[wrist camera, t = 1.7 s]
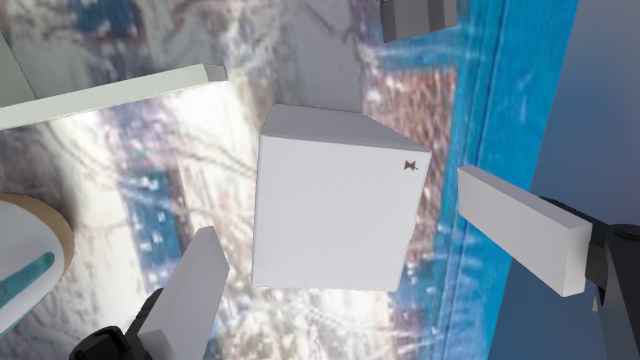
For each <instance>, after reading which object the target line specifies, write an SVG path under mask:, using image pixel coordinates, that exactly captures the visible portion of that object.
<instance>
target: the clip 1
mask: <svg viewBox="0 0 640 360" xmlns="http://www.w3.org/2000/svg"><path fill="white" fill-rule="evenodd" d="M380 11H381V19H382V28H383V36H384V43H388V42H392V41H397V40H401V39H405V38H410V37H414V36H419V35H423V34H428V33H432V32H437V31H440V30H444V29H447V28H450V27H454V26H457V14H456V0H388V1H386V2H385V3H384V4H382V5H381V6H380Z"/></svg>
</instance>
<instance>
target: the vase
mask: <svg viewBox="0 0 640 360" xmlns="http://www.w3.org/2000/svg"><path fill="white" fill-rule="evenodd" d="M74 247H75V243H74V236H73V233H72V230H71V228H70V226H69V224H68V222H67V221H66V220H65V218H64V217H63V216H62V215H61V214H60V213H59V212H58V211H57V210H55V209H54V208H53V207H51V206H50V205H48V204H46V203H44V202H42V201H40V200H38V199H35V198H32V197H30V196H26V195H21V194H15V193H6V192H5V193H0V339H1V338H2V337H3V336H4V335H6V334H7V333H8V332H9V331H10V330H11V329H12V328H13V327H14V326H15V325H17V324H18V323H19V322H20V321H21V320H22V319H23V318H24V317H25V316H26V315H27V314H28V313H29V312H30V311H31V310H32V309H33V308H34V307H35V306H36V305H37V304H38V303H39V302H40V301H41V300H42V299H43V298H44V297H45V296H46V295H47V294H48V293H49V292H50V291H51V290H52V288H53V287H54V286H55V285H56V284H57V283H58V282H59V281H60V279H61V278H62V277H63V275H64V274H65V272H66V271H67V269H68V267H69V266H70V263H71V261H72V258H73V255H74Z"/></svg>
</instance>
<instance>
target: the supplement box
mask: <svg viewBox="0 0 640 360" xmlns="http://www.w3.org/2000/svg"><path fill="white" fill-rule="evenodd" d="M431 154H432V151H431V150H430V149H428V148H426V147H425V146H423V145H421V144H419V143H417V142H415V141H413V140H411V139H409V138H407V137H405V136H403V135H402V134H400V133H398V132H396V131H394V130H392V129H390V128H388V127H387V126H385V125H383V124H381V123H379V122H377V121H375V120H373V119H372V118H370V117H368V116H366V115H364V114H362V113H355V112H346V111H338V110H330V109H322V108H313V107H305V106H297V105H286V104H274V105H273V107H272V109H271V112H270V114H269V116H268V118H267V120H266V123H265V125H264V127H263V129H262V131H261V134H260V138H259V153H258V165H257V180H256V196H255V214H254V232H253V253H252V274H251V285H252V287H272V288H314V289H340V290H361V291H396V290H397V289H398V286H399V282H400V278H401V274H402V270H403V266H404V262H405V258H406V254H407V250H408V245H409V242H410V239H411V237H412V235H413V232H414V228H415V224H416V214H417V210H418V206H419V202H420V198H421V194H422V190H423V186H424V183H425V179H426V175H427V171H428V167H429V163H430V159H431Z"/></svg>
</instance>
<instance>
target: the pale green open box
mask: <svg viewBox="0 0 640 360" xmlns="http://www.w3.org/2000/svg"><path fill="white" fill-rule="evenodd" d="M224 81H228V79H227V76H226V73H225V69H224V67H223V66H217V65H211V64H205V63H201V64H197V65H192V66H188V67H183V68H179V69H174V70H170V71H165V72H161V73H156V74H152V75H147V76H143V77H138V78H133V79H129V80H124V81H120V82H115V83H111V84H106V85H102V86H97V87H93V88H88V89H84V90H79V91H75V92H70V93H66V94H61V95H57V96H52V97H48V98H43V99H39V100H37V98H36V97H35V95H34V93H33V91H32V89H31V87H30V85H29V83H28V81H27V80H26V78H25V76H24V74H23V72H22V70H21V68H20V66H19V64H18V63H17V61H16V59H15V57H14V55H13V53H12V51H11V49H10V47H9V46H8V44H7V42H6V40H5V38H4V36H3V34H2V32H1V30H0V130H5V129H10V128H16V127H21V126H26V125H32V124H36V123H41V122H45V121H50V120H54V119H59V118H63V117H68V116H72V115H77V114H81V113H86V112H90V111H95V110H99V109H103V108H108V107H112V106H117V105H121V104H126V103H130V102H135V101H139V100H144V99H148V98H153V97H157V96H162V95H166V94H171V93H175V92H179V91H184V90H188V89H193V88H197V87H202V86H206V85H211V84H215V83H220V82H224Z"/></svg>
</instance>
